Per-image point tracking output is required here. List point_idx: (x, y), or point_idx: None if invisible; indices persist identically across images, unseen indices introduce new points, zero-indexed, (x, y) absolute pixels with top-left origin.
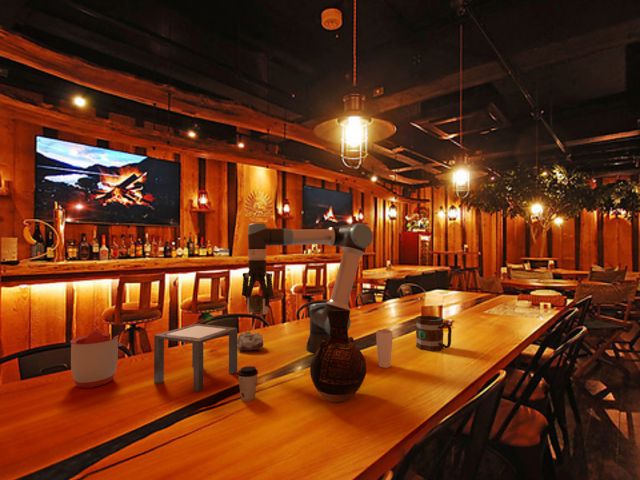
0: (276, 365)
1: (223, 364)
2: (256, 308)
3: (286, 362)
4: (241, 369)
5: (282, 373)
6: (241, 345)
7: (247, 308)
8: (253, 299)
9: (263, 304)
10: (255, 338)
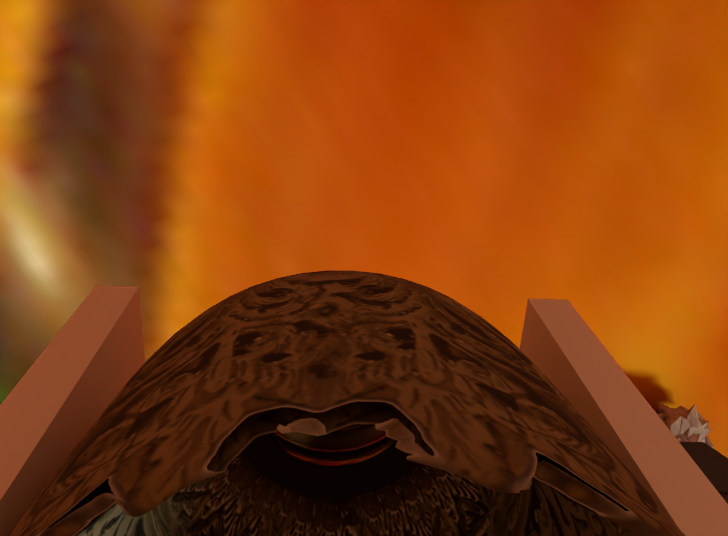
0: (227, 235)
1: (653, 103)
2: (256, 286)
3: (194, 318)
4: None
5: (76, 91)
6: (669, 424)
7: (605, 352)
8: (313, 382)
9: (15, 425)
10: None
